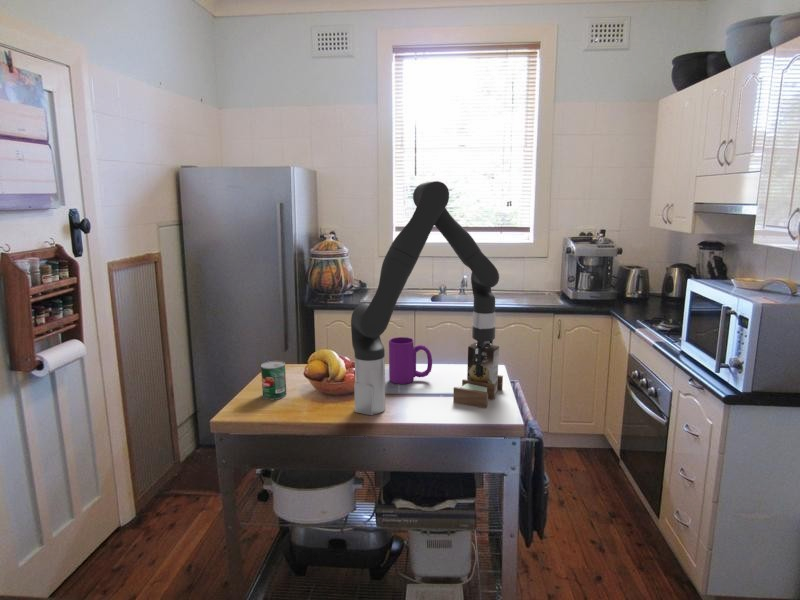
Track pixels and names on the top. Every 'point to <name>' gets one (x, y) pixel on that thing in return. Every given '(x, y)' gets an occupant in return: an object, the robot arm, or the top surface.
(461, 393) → the rack
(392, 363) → the mug
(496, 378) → the coffee box
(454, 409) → the top surface
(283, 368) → the canned tomato
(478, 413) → the top surface
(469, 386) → the offcut upper
